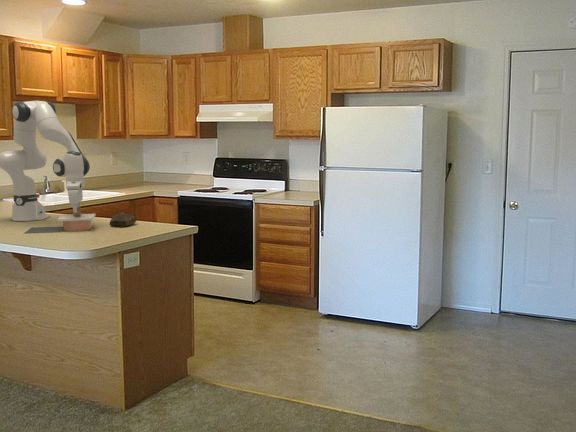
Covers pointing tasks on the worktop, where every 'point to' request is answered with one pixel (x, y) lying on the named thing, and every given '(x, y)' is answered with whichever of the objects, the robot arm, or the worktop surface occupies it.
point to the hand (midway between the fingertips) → (76, 211)
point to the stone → (122, 220)
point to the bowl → (77, 225)
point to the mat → (44, 230)
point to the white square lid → (76, 216)
